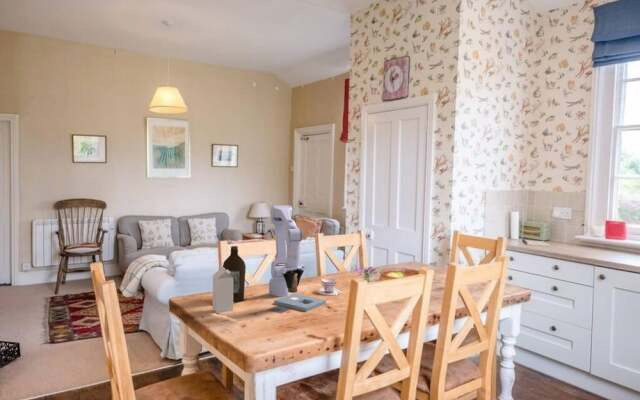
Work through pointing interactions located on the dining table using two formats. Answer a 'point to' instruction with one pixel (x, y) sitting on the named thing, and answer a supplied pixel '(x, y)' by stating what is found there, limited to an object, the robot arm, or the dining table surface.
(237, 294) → the olive oil
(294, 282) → the walnut peg
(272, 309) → the pad
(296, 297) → the hole plate
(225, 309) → the milk carton
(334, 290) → the teacup
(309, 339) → the dining table surface
